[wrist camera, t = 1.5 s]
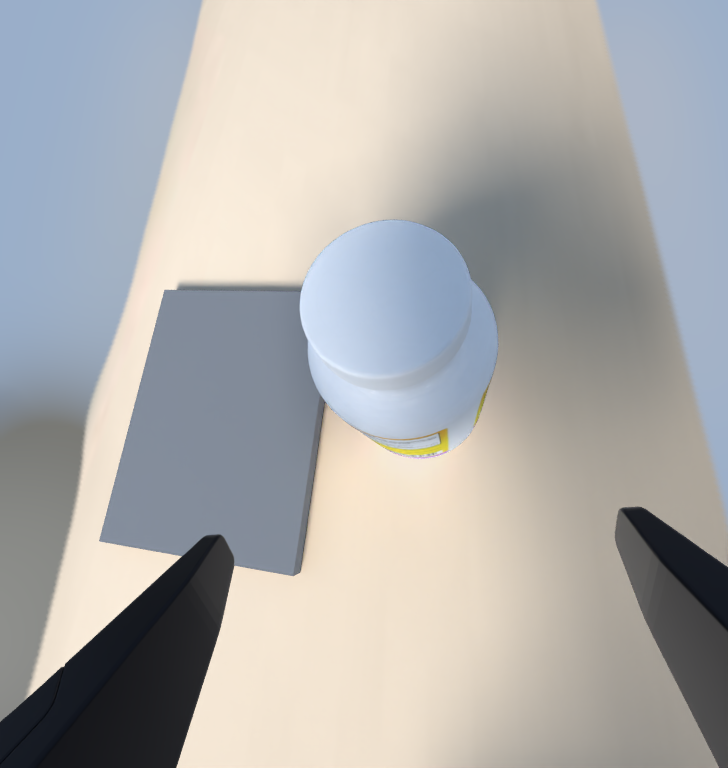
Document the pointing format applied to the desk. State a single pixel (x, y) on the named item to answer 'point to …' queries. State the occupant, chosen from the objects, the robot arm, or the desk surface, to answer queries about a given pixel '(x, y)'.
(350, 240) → the supplement bottle
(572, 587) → the desk surface
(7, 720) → the robot arm
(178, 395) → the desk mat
